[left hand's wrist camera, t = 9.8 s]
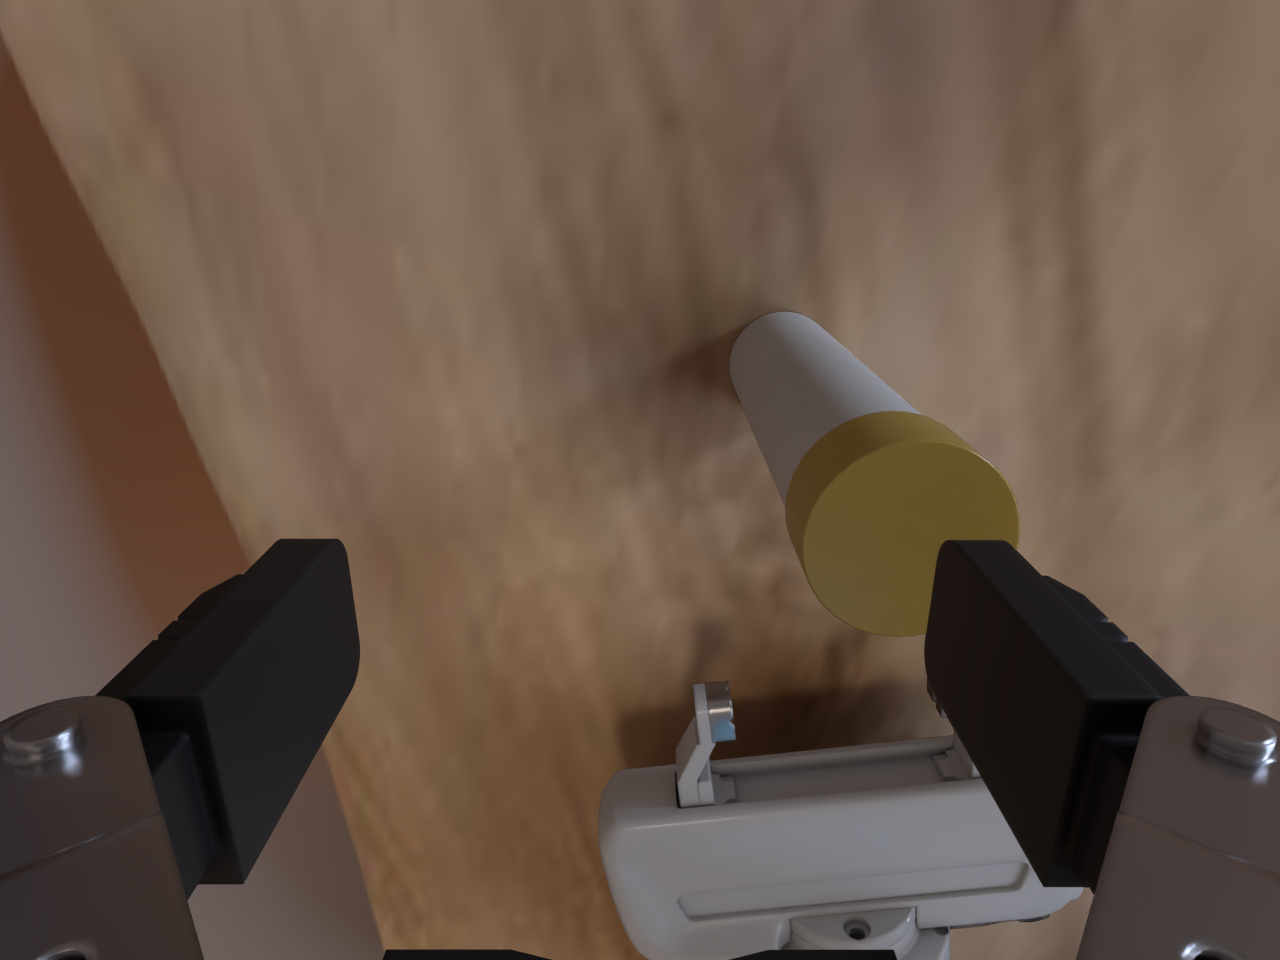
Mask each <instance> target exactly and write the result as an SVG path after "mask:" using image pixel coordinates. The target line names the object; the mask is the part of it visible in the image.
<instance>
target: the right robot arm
mask: <svg viewBox="0 0 1280 960" xmlns="http://www.w3.org/2000/svg"><path fill="white" fill-rule="evenodd" d="M705 687H706V688H705ZM693 692H694V702H695V712H696V716H694V717H693V719H692V721H691V723H690V724H689V726H688V728H687V730H686V731H685V733H684V735H683V737H682V739H681V740H680V742H679V744H678V746H677V748H676V764H673V765H663V766H654V767H644V768H633V769H624V770H620V771H618V772H616V773H615V774H614V775H613V776H612V777H611V779H610V780H609V782H608V783H607V785H606V786H605V788H604V789H603V791H602V794H601V800H600V808H599V847H600V853H601V859H602V863H603V867H604V871H605V875H606V878H607V882H608V885H609V889H610V892H611V895H612V898H613V901H614V904H615V907H616V910H617V912H618V915H619V917H620V920H621V922H622V925H623V927H624V930H625V932H626V934H627V936H628V938H629V940H630V941H631V943H632V944H633V946H634V947H635V948H636V950H637V951H638V952H639V953H640V954H641V955H643V956H644V957H645V958H646V959H648V960H730V959H734V958H738V957H742V956H746V955H750V954H754V953H758V952H762V951H766V950H894V952H895V955H896V958H897V960H950V929H959V928H970V927H980V926H987V925H990V924H991V925H992V924H996V923H1000V922H1002V921H1003V922H1006V921H1019V922H1034V921H1039V920H1043V919H1045V918H1048V917H1049V916H1050V914H1051V913H1053V912H1055V911H1057V910H1059V909H1060V908H1062V907H1063V906H1065V905H1066V904H1067V903H1068V902H1069V901H1072V900H1076V899H1077V898H1079V896H1080V895H1081V893H1082V891H1083V888H1084V887H1043V886H1042V884H1041V882H1040V880H1039V878H1038V877H1037V875H1036V873H1035V871H1034V870H1033V868H1032V866H1031V864H1030V863H1029V861H1028V859H1027V857H1026V855H1025V854H1024V852H1023V850H1022V848H1021V847H1020V845H1019V843H1018V841H1017V840H1016V838H1015V836H1014V834H1013V833H1012V831H1011V829H1010V827H1009V825H1008V824H1007V822H1006V820H1005V818H1004V817H1003V815H1002V813H1001V811H1000V810H999V808H998V806H997V804H996V802H995V801H994V799H993V797H992V795H991V794H990V792H989V790H988V788H987V787H986V785H985V783H984V781H983V779H982V778H981V776H980V774H979V772H978V771H977V769H976V767H975V765H974V764H973V762H972V760H971V758H970V756H969V755H968V753H967V751H966V749H965V748H964V746H963V744H962V742H961V741H960V739H959V737H958V735H957V734H956V732H955V730H954V735H949V736H940V737H930V738H921V739H911V740H902V741H892V742H883V743H873V744H864V745H854V746H845V747H835V748H826V749H816V750H807V751H797V752H787V753H778V754H768V755H759V756H749V757H740V758H730V759H721V760H711V761H710V760H709V756H710V754H711V752H712V750H713V748H714V746H715V744H716V742H723V741H731V740H736V735H735V726H734V719H733V708H732V701H731V694H730V689H729V682H728V681H721V682H710V683H704V684H693ZM927 692H928V694H929V695H930V697H931V699H932V701H934V702H936V708H937V710H938V712H939V714H940V716H941V717H942V718H947V716H946V714H945V712H944V711H943V709H942V707H941V705H940V703H939V702H938V700H937V698H936V696H935V695H934V693H933V691H932V689H931V687H930V684H929V681H928V677H927Z"/></svg>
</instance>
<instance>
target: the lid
mask: <svg viewBox="0 0 1280 960" xmlns="http://www.w3.org/2000/svg"><path fill="white" fill-rule="evenodd" d="M785 517H786V523H787V529H788V532H789V535H790V539H791V541H792V544H793V546H794V549H795V551H796V554H797V556H798V559H799V561H800V563H801V566H802V568H803V571H804V573H805V576H806V578H807V581H808V583H809V585H810V587H811V589H812V591H813V593H814V594H815V596H816V597H817V598H818V600H819V601H820V602H821V604H822V605H823V606H824V607H825V608H826V609H827V610H828V611H829V612H830V613H832V614H833V615H834V616H835V617H837V618H838V619H840V620H841V621H843V622H845V623H846V624H848V625H850V626H852V627H855V628H857V629H859V630H862V631H865V632H869V633H872V634H877V635H883V636H897V637H901V636H914V635H920V634H926V631H927V624H928V617H929V610H930V603H931V596H932V589H933V582H934V575H935V568H936V561H937V556H938V552H939V550H940V547H941V545H942V544H943V543H944V542H945V541H946V540H1005V541H1007V542H1008V543H1010V544H1011V545H1012V546H1013V547H1014V548H1015V549H1016V550H1017V547H1018V543H1019V534H1020V519H1019V512H1018V507H1017V503H1016V500H1015V497H1014V494H1013V492H1012V490H1011V488H1010V486H1009V485H1008V483H1007V481H1006V479H1005V478H1004V477H1003V476H1002V474H1001V473H1000V472H999V471H998V470H997V469H996V468H995V467H994V466H993V465H992V464H991V463H990V462H989V461H988V460H987V459H985V458H984V457H983V456H982V455H981V454H979V453H978V452H977V451H976V450H975V449H973V448H972V447H971V446H970V445H969V444H967V443H966V442H965V441H964V440H963V439H961V438H960V437H959V436H958V435H957V434H955V433H954V432H953V431H952V430H950V429H949V428H948V427H946V426H945V425H943V424H942V423H940V422H938V421H936V420H934V419H932V418H929V417H926V416H923V415H920V414H916V413H911V412H904V411H884V412H876V413H871V414H866V415H863V416H860V417H856V418H853V419H851V420H849V421H847V422H845V423H842V424H840V425H839V426H837V427H835V428H834V429H832V430H831V431H829V432H828V433H826V434H825V435H824V436H823V437H821V438H820V439H819V440H818V441H817V442H816V443H815V444H814V445H813V446H812V447H811V448H810V449H809V450H808V452H807V453H806V454H805V455H804V457H803V458H802V459H801V461H800V463H799V464H798V466H797V468H796V470H795V471H794V474H793V476H792V479H791V481H790V484H789V488H788V491H787V496H786V504H785Z"/></svg>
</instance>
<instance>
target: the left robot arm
mask: <svg viewBox="0 0 1280 960" xmlns="http://www.w3.org/2000/svg"><path fill="white" fill-rule="evenodd" d="M924 655H925V667H926V673H927V677H928V681H929V684H930V687H931V689H932V691H933V693H934V695H935V696H936V698H937V700H938V702H939V703H940V705H941V707H942V709H943V711H944V712H945V714H946V716H947V718H948V719H949V721H950V723H951V725H952V726H953V728H954V730H955V732H956V734H957V735H958V737H959V739H960V741H961V742H962V744H963V746H964V748H965V749H966V751H967V753H968V755H969V756H970V758H971V760H972V762H973V764H974V765H975V767H976V769H977V771H978V772H979V774H980V776H981V778H982V779H983V781H984V783H985V785H986V787H987V788H988V790H989V792H990V794H991V795H992V797H993V799H994V801H995V802H996V804H997V806H998V808H999V810H1000V811H1001V813H1002V815H1003V817H1004V818H1005V820H1006V822H1007V824H1008V825H1009V827H1010V829H1011V831H1012V833H1013V834H1014V836H1015V838H1016V840H1017V841H1018V843H1019V845H1020V847H1021V848H1022V850H1023V852H1024V854H1025V855H1026V857H1027V859H1028V861H1029V863H1030V864H1031V866H1032V868H1033V870H1034V871H1035V873H1036V875H1037V877H1038V878H1039V880H1040V882H1041V884H1042V886H1043V887H1090V889H1091V891H1092V892H1093V894H1094V897H1093V901H1092V904H1091V908H1090V912H1089V915H1088V919H1087V922H1086V926H1085V929H1084V933H1083V936H1082V940H1081V943H1080V947H1079V950H1078V954H1077V958H1076V960H1280V722H1279V721H1277V720H1275V719H1273V718H1271V717H1269V716H1267V715H1264V714H1262V713H1259V712H1257V711H1255V710H1252V709H1249V708H1246V707H1243V706H1240V705H1238V704H1234V703H1230V702H1227V701H1223V700H1218V699H1213V698H1207V697H1198V696H1190V695H1189V694H1188V693H1186V692H1185V691H1184V690H1183V689H1182V688H1181V687H1180V686H1179V685H1178V684H1177V683H1176V682H1175V681H1174V680H1173V679H1172V678H1171V677H1170V676H1169V675H1167V674H1166V673H1165V672H1164V671H1163V670H1162V669H1161V668H1160V667H1159V666H1158V665H1157V664H1156V663H1155V662H1154V661H1153V660H1152V659H1151V658H1150V657H1149V656H1147V655H1146V654H1145V653H1144V652H1143V651H1142V650H1141V649H1140V648H1139V647H1138V646H1137V645H1136V644H1135V643H1134V642H1128V637H1127V636H1126V635H1125V634H1124V633H1123V632H1122V631H1121V630H1120V629H1119V628H1118V627H1117V626H1116V625H1115V624H1114V623H1113V622H1108V618H1107V617H1106V616H1105V615H1104V614H1103V613H1102V612H1101V611H1100V610H1099V609H1098V608H1097V607H1096V606H1095V605H1094V604H1093V603H1092V602H1091V601H1090V600H1088V599H1087V598H1086V597H1085V596H1084V595H1083V594H1081V593H1079V592H1077V591H1075V590H1073V589H1071V588H1070V587H1068V586H1066V585H1064V584H1062V583H1060V582H1058V581H1056V580H1055V579H1053V578H1051V577H1049V576H1042V575H1041V574H1040V573H1039V572H1038V571H1037V570H1036V569H1035V568H1034V567H1033V566H1032V565H1031V564H1030V563H1029V562H1028V561H1027V560H1026V559H1025V558H1024V557H1023V556H1022V555H1021V554H1020V553H1019V552H1018V551H1017V550H1016V549H1015V548H1014V547H1013V546H1012V545H1011V544H1010V543H1008V542H1007V541H1005V540H946V541H945V542H944V543H943V544H942V545H941V547H940V550H939V552H938V556H937V561H936V568H935V575H934V582H933V589H932V596H931V603H930V610H929V617H928V624H927V631H926V638H925V649H924ZM359 659H360V642H359V634H358V627H357V620H356V613H355V606H354V599H353V592H352V585H351V578H350V571H349V563H348V557H347V553H346V549H345V547H344V545H343V543H342V542H341V541H340V540H339V539H280V540H278V541H276V542H275V543H274V544H273V545H272V546H271V547H270V548H269V549H268V550H267V551H266V552H265V553H264V554H263V555H262V556H261V557H260V558H259V559H258V560H257V561H256V562H255V564H254V565H253V566H252V567H251V568H250V569H249V570H248V571H247V572H246V573H245V574H243V575H242V574H241V575H239V574H238V575H236V576H234V577H232V578H230V579H228V580H226V581H224V582H223V583H221V584H219V585H217V586H215V587H213V588H211V589H210V590H208V591H206V592H204V593H202V594H201V595H200V596H199V597H198V598H197V599H196V600H195V601H193V602H192V603H191V604H190V605H189V606H188V607H187V608H186V609H185V610H184V611H183V612H182V613H181V614H180V615H179V616H178V621H173V622H172V623H171V624H169V625H168V626H167V627H166V628H165V629H164V630H163V631H162V632H161V633H160V634H159V635H158V640H153V641H152V642H151V643H150V644H149V645H148V646H147V647H145V648H144V649H143V650H142V651H141V652H140V653H139V654H138V655H137V656H136V657H135V658H134V659H133V660H132V661H131V662H130V663H129V664H128V665H127V666H126V667H125V668H124V669H123V670H122V671H120V672H119V673H118V674H117V675H116V676H115V677H114V678H113V679H112V680H111V681H110V682H109V683H108V684H107V685H106V686H105V687H104V688H103V689H102V690H101V691H100V692H98V693H97V694H96V695H95V696H82V697H73V698H67V699H62V700H57V701H54V702H50V703H46V704H43V705H39V706H37V707H34V708H31V709H28V710H25V711H23V712H21V713H18V714H16V715H13V716H11V717H9V718H7V719H5V720H3V721H1V722H0V960H204V958H203V954H202V950H201V947H200V943H199V940H198V936H197V933H196V929H195V926H194V922H193V919H192V915H191V912H190V908H189V904H188V899H189V897H190V896H191V894H192V893H193V891H194V889H195V888H196V886H197V885H198V884H244V882H245V880H246V878H247V876H248V875H249V873H250V871H251V869H252V867H253V866H254V864H255V862H256V860H257V858H258V857H259V855H260V853H261V851H262V850H263V848H264V846H265V844H266V842H267V841H268V839H269V837H270V835H271V833H272V832H273V830H274V828H275V826H276V824H277V823H278V821H279V819H280V817H281V815H282V814H283V812H284V810H285V808H286V807H287V805H288V803H289V801H290V799H291V798H292V796H293V794H294V792H295V790H296V789H297V787H298V785H299V783H300V781H301V780H302V778H303V776H304V774H305V773H306V771H307V769H308V767H309V765H310V764H311V762H312V760H313V758H314V756H315V755H316V753H317V751H318V749H319V748H320V746H321V744H322V742H323V740H324V739H325V737H326V735H327V733H328V731H329V730H330V728H331V726H332V724H333V722H334V721H335V719H336V717H337V715H338V714H339V712H340V710H341V708H342V706H343V705H344V703H345V701H346V699H347V697H348V696H349V694H350V692H351V690H352V688H353V686H354V684H355V681H356V677H357V673H358V668H359ZM383 960H550V959H546V958H542V957H538V956H534V955H530V954H526V953H522V952H518V951H514V950H386V952H385V955H384V958H383ZM730 960H897V958H896V955H895V952H894V950H766V951H762V952H758V953H754V954H750V955H746V956H742V957H738V958H734V959H730Z"/></svg>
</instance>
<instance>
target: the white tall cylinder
mask: <svg viewBox="0 0 1280 960" xmlns="http://www.w3.org/2000/svg"><path fill="white" fill-rule="evenodd" d="M729 371H730V377H731V381H732V384H733V386H734V388H735V391H736V393H737V395H738V398H739V400H740V402H741V405H742V407H743V409H744V412H745V414H746V417H747V419H748V421H749V424H750V426H751V428H752V431H753V433H754V435H755V438H756V440H757V442H758V445H759V447H760V449H761V452H762V454H763V456H764V459H765V461H766V463H767V466H768V468H769V470H770V473H771V475H772V477H773V480H774V482H775V484H776V487H777V489H778V491H779V494H780V496H781V498H782V501H783V503H784V506H785V504H786V496H787V491H788V488H789V484H790V481H791V479H792V476H793V474H794V471H795V470H796V468H797V466H798V464H799V463H800V461H801V459H802V458H803V457H804V455H805V454H806V453H807V452H808V450H809V449H810V448H811V447H812V446H813V445H814V444H815V443H816V442H817V441H818V440H819V439H820V438H821V437H823V436H824V435H825V434H826V433H828V432H829V431H831V430H832V429H834V428H835V427H837V426H839V425H840V424H842V423H845V422H847V421H849V420H851V419H853V418H856V417H860V416H863V415H866V414H871V413H876V412H884V411H904V412H911V413H916V414H920V413H919V412H918V411H917V410H915V409H914V408H913V407H912V406H911V405H910V404H908V403H907V402H906V401H905V400H904V399H903V398H902V397H900V396H899V395H898V394H897V393H896V392H895V391H894V390H892V389H891V388H890V387H889V386H888V385H887V384H886V383H884V382H883V381H882V380H881V379H880V378H879V377H878V376H876V375H875V374H874V373H873V372H872V371H871V370H870V369H868V368H867V367H866V366H865V365H864V364H863V363H861V362H860V361H859V360H858V359H857V358H856V357H855V356H853V355H852V354H851V353H850V352H849V351H848V350H847V349H845V348H844V347H843V346H842V345H841V344H840V343H839V342H837V341H836V340H835V339H834V338H833V337H832V336H831V335H829V334H828V333H827V332H826V331H825V330H824V329H823V328H821V327H820V326H819V325H818V324H817V323H816V322H814V321H813V320H811V319H810V318H808V317H806V316H804V315H801V314H798V313H793V312H776V313H771V314H768V315H765V316H762V317H760V318H758V319H756V320H755V321H753V322H752V323H751V324H749V325H748V326H747V327H746V328H745V329H744V330H743V331H742V332H741V334H740V335H739V336H738V338H737V340H736V341H735V343H734V346H733V348H732V351H731V355H730V362H729ZM920 415H921V414H920Z"/></svg>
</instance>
